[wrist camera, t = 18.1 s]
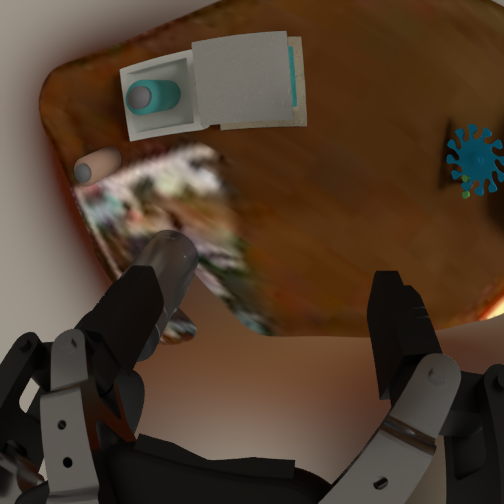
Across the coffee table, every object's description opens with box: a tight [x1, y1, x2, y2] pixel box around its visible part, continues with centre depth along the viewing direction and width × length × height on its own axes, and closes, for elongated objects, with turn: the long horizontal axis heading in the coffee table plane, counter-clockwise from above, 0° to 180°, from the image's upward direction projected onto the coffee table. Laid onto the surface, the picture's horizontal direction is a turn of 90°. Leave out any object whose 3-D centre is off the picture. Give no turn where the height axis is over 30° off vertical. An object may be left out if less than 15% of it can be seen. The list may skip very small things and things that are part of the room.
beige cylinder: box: [74, 146, 121, 186], centre depth 36 cm, size 4×4×8 cm
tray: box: [120, 50, 209, 141], centre depth 32 cm, size 11×11×3 cm
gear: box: [447, 124, 504, 199], centre depth 29 cm, size 11×6×10 cm
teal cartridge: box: [126, 80, 181, 115], centre depth 29 cm, size 4×4×8 cm
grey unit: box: [192, 31, 307, 130], centre depth 26 cm, size 12×11×14 cm
